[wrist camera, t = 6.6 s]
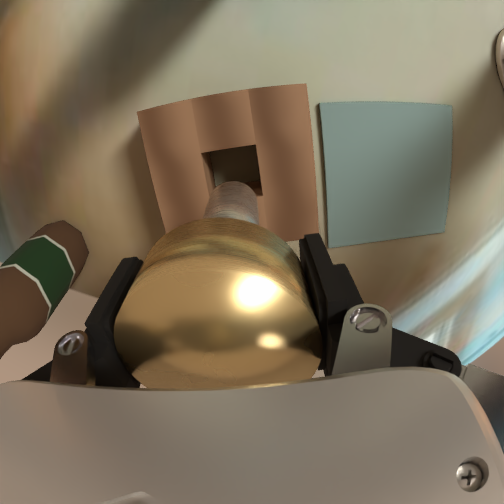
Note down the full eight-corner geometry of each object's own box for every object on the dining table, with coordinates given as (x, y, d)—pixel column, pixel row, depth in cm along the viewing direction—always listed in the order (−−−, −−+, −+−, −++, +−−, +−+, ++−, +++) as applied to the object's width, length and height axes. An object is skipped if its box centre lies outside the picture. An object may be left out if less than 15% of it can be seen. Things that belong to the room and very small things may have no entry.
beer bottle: (40, 213, 31) (-87, 341, 11) (90, 224, 33) (-32, 382, 12) (44, 264, 35) (-51, 398, 14) (91, 277, 36) (6, 433, 15)
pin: (276, 150, 17) (322, 255, 7) (286, 241, 20) (320, 403, 10) (175, 165, 17) (80, 283, 7) (195, 252, 20) (155, 412, 10)
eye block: (296, 85, 26) (306, 83, 22) (309, 216, 33) (319, 237, 28) (153, 108, 27) (136, 111, 22) (181, 233, 33) (172, 256, 29)
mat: (450, 105, 26) (452, 105, 26) (442, 230, 34) (444, 232, 34) (318, 103, 27) (319, 103, 27) (327, 246, 35) (328, 248, 34)
